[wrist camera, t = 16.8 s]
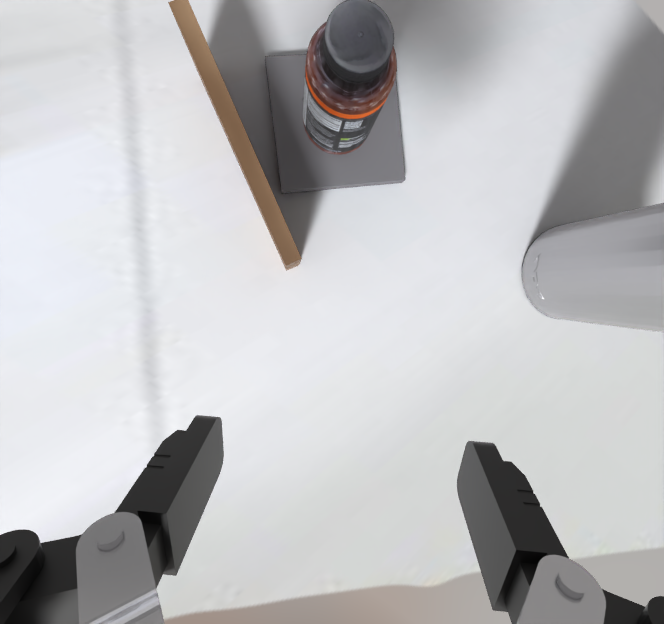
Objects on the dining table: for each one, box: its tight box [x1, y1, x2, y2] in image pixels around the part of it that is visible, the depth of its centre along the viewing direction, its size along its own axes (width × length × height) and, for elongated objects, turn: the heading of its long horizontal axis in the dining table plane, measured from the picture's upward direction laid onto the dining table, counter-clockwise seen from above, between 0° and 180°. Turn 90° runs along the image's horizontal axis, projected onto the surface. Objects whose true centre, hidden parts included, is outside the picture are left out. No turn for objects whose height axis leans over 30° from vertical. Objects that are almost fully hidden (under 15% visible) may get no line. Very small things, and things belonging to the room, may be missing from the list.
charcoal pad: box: [265, 54, 405, 193], centre depth 32 cm, size 11×11×1 cm
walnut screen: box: [168, 0, 302, 271], centre depth 28 cm, size 1×18×8 cm, turn 24°
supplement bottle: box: [302, 0, 397, 155], centre depth 26 cm, size 6×6×11 cm
